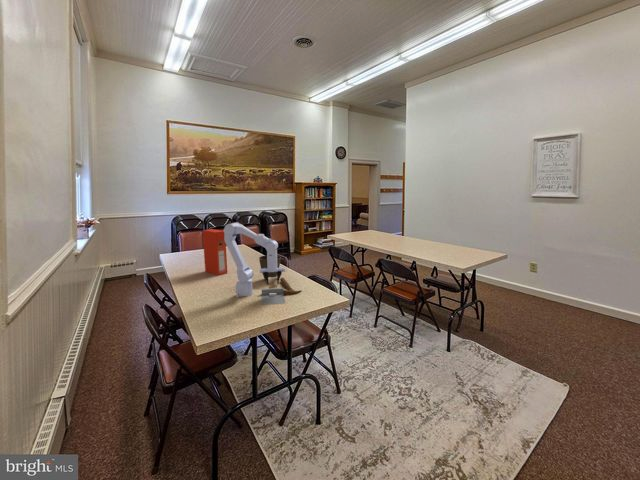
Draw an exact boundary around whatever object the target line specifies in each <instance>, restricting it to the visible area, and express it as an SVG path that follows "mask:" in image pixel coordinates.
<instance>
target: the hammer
mask: <svg viewBox="0 0 640 480" xmlns="http://www.w3.org/2000/svg"><path fill="white" fill-rule="evenodd" d="M279 281H280V282H281V283H282V285H283V287H284V291H283V295H284V296H286V295H289V296H293V295H297V294H299V293H301V292H302V289H301V290H294V289H293V288H292V287H291V286H290V284H289V282H288V281H287V280H286V279H285V278H284V277H280V279H279Z"/></svg>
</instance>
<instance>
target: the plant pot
mask: <svg viewBox="0 0 640 480" xmlns="http://www.w3.org/2000/svg"><path fill="white" fill-rule="evenodd" d="M258 259H259V260H258V261H259V266H260V269H265V268H267V254H266V255H261V256H259V257H258ZM281 259H282V257H281V256H280V255H277V268H280V266H281ZM262 275H263V279H264V280H265V281H266V278H265V276H264V273H262ZM268 277H277V272H268Z"/></svg>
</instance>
